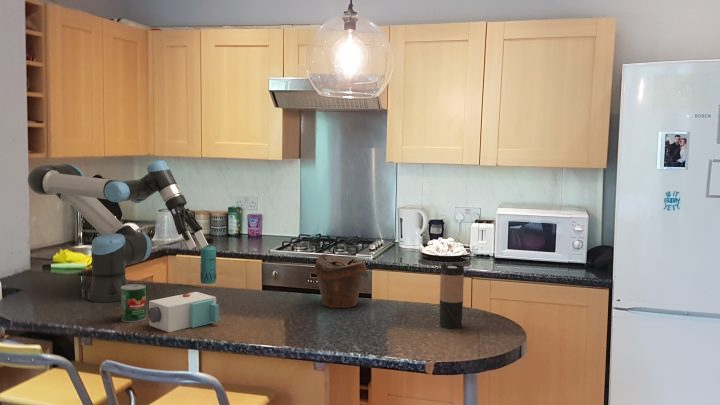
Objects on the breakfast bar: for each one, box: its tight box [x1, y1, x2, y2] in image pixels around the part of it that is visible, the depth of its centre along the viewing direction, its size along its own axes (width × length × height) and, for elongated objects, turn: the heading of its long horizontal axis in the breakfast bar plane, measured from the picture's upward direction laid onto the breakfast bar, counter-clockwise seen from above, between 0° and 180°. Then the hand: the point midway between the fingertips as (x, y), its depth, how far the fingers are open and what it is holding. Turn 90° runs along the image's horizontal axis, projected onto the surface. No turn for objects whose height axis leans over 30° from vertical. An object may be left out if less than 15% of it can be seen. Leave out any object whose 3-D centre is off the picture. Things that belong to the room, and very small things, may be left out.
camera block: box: [147, 291, 217, 333], centre depth 210 cm, size 11×20×9 cm, turn 139°
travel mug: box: [439, 263, 465, 329], centre depth 213 cm, size 8×8×20 cm
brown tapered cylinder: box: [313, 253, 369, 309], centre depth 239 cm, size 18×20×18 cm
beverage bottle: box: [199, 237, 217, 285], centre depth 264 cm, size 6×7×20 cm
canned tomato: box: [120, 283, 147, 323], centre depth 215 cm, size 8×8×11 cm
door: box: [189, 299, 220, 329], centre depth 207 cm, size 4×8×8 cm, turn 139°
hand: (199, 247), depth 245 cm, fingers open, 13 cm apart
